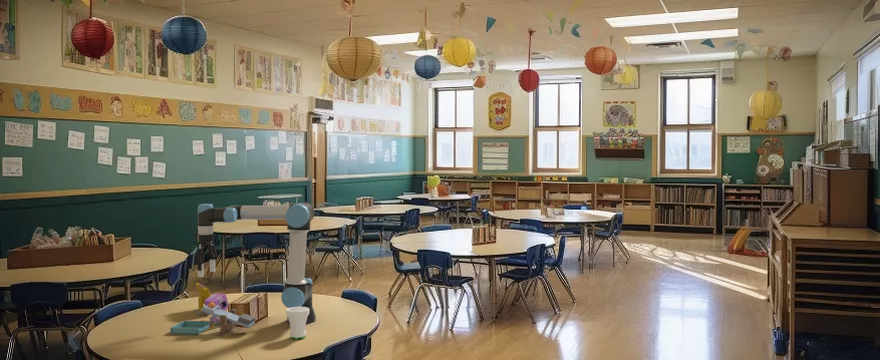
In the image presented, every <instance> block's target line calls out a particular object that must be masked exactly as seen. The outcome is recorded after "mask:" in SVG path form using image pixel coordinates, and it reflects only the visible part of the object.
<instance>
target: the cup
mask: <svg viewBox="0 0 880 360" xmlns="http://www.w3.org/2000/svg"><path fill="white" fill-rule="evenodd" d="M285 314H286V317H287V316H288V319H289V322H290V323H289V322H288V323H289V327H290V328H289V329H290V330H289V331H290V332H289V336H290V339H291V340H293V339H294V340H299V339H301V340H304V339H305V337H306V336H307V331H306V325H307V323H306V321H307V317H308V315H309V308H307V307H291V308H286V310H285ZM303 338H304V339H303Z"/></svg>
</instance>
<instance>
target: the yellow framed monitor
mask: <svg viewBox="0 0 880 360" xmlns="http://www.w3.org/2000/svg"><path fill="white" fill-rule="evenodd" d="M195 287H196V289H197V291H198V295H199V296H198V300H197V302H198V307H197V309H194V310H193V312H194V313H195V314H196V315H198V316H207V315H208V316H209V315H211V314H208V313H205V312H203V311H201V309H202V308H203V306H204V305H205V303H204V300H206V299H207V298H209V297H210V296H211V293H210V291H209V288H207V287H206V286H204V285H203V284H201V283H199V282H196V283H195ZM211 316H212V315H211Z"/></svg>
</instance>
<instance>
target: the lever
mask: <svg viewBox="0 0 880 360" xmlns="http://www.w3.org/2000/svg"><path fill="white" fill-rule="evenodd" d="M201 311H203V312H205V313H208V314H211V316H212V315H214V316H217V318H220V315H227V320H228V321H230V322H233V323H236V325H239V326H240V327H241V326H242V327H244V328H247V329H250V328H251V327H253V326H254V325H255V324H256V321H255V319H256V316H253V315H249V314H247V313H243V314H241V315H238V314H236V315H235V314H234V313H230V311H227V310H226V311H224V310H221V309H220V306H217V305H215V308H213V309H211V308H209V307H208V305H207V306H205V305H203V308H202V309H201Z"/></svg>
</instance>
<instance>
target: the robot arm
mask: <svg viewBox="0 0 880 360" xmlns="http://www.w3.org/2000/svg"><path fill="white" fill-rule="evenodd" d="M315 213H316V212H315V208H314V207H313V205H312V204H311V203H309V202H305V201H302V202H292V203H289V204H285V205H283V204H280V205H279V204H278V205H276V204H275V205H237V204H232V205H230V206H226V207H214V205H213V203H201V204H199V205H198V206H197V229H198V230H197V231H198V232H197V233H198V234H197V238H198V242H199V243H200V244H198V245H197V250H196V251H197V252H196V255H195V262H194V264H195V265H197V278H203V277H204V259H205V256H206V254H207V255H208V257H209V272H210V273H216V260H217V259H218V254H217V250H216V246H215V241H214V237H215V236H214V223H226V224H227V223H235V222H236V221H239V220H240V221H242V220H243V221H244V220H245V221H246V220H252V221H253V220H255V221H256V220H257V221H258V220H260V221H261V220H263V221H264V220H285V221H286V222H287V225H286V228H287V231H288V232H289V246H288V262H287V278H286V279H285V280H284V283H283V291H282V293H281V297H280V298H281V299H280V300H281V302H282V304H283V306H285V307H286V309H288V308H291V307H307V308H309V315H308V317H307V321H306V324H311V323H314V322H315V321H316V318H317V316H316V314H315V309H314V306H313V280H312V278H306V277H305V276H306V275H305V274H306V273H305V272H306V258H307V257H306V255H307V254H306V253H307V239H308V237H307V236H308V233H309V232H310V230H311V221H312V220H314V217H315ZM286 322H287V323H289V324H290V322H289V319H288V316H287V315H286Z"/></svg>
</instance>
